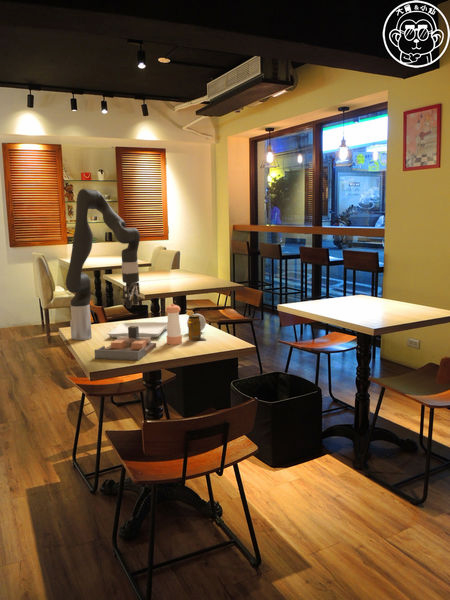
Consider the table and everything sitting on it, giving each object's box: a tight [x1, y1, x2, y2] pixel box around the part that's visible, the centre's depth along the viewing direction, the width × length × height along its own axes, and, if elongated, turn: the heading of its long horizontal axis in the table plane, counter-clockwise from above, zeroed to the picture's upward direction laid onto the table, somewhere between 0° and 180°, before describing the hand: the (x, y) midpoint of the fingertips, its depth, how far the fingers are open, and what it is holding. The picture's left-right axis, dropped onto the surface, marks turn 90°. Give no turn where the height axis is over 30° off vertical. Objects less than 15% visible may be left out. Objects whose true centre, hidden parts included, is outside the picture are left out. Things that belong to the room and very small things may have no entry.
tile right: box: [132, 341, 146, 349], centre depth 238 cm, size 5×5×2 cm
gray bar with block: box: [116, 326, 152, 345], centre depth 245 cm, size 16×3×8 cm, turn 78°
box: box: [94, 345, 146, 362], centre depth 230 cm, size 20×9×4 cm, turn 78°
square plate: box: [107, 321, 168, 339], centre depth 275 cm, size 27×27×4 cm
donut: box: [186, 313, 207, 332], centre depth 274 cm, size 10×4×10 cm, turn 107°
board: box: [105, 342, 157, 356], centre depth 241 cm, size 20×14×2 cm
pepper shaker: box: [165, 303, 183, 346], centre depth 252 cm, size 7×7×19 cm
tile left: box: [110, 339, 126, 348], centre depth 240 cm, size 5×5×2 cm
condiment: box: [186, 314, 207, 342], centre depth 258 cm, size 7×8×12 cm
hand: (132, 306), depth 243 cm, fingers open, 8 cm apart
